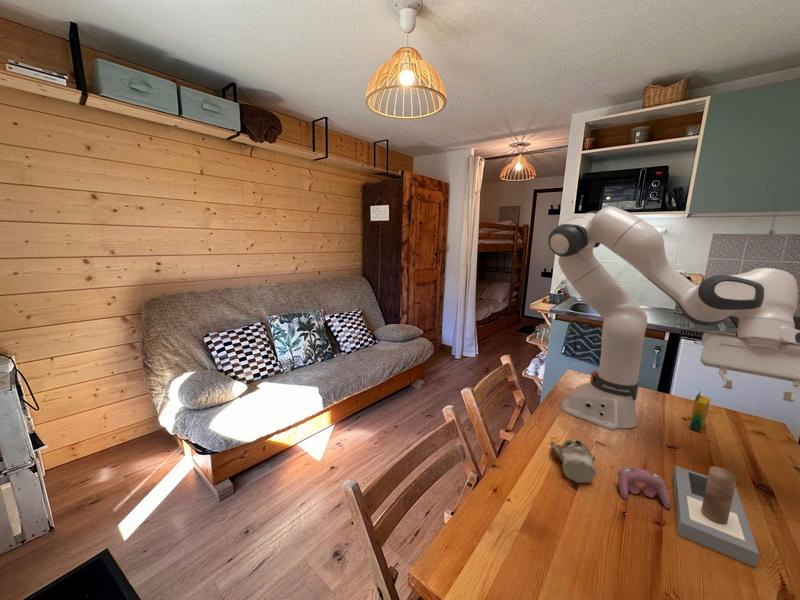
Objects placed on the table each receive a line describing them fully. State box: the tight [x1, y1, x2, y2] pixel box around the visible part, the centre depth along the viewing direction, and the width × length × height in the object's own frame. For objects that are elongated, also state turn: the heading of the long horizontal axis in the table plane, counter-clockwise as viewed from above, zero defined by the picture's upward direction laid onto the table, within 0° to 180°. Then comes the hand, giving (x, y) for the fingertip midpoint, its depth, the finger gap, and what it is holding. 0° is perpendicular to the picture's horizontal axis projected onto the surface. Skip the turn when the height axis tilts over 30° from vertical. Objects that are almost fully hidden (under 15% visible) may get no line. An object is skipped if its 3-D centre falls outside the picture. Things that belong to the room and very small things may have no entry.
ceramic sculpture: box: [550, 439, 597, 484], centre depth 86 cm, size 11×9×15 cm
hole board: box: [672, 465, 760, 568], centre depth 72 cm, size 11×22×3 cm, turn 143°
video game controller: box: [617, 467, 671, 509], centre depth 77 cm, size 10×5×7 cm, turn 72°
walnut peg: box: [701, 466, 738, 524], centre depth 67 cm, size 4×4×10 cm
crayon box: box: [688, 390, 711, 433], centre depth 106 cm, size 7×3×12 cm, turn 129°
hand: (756, 394), depth 74 cm, fingers open, 8 cm apart
